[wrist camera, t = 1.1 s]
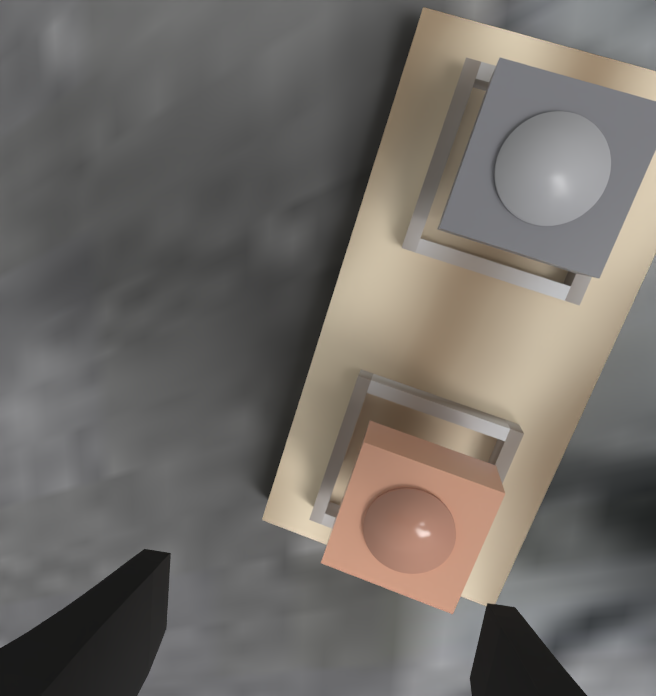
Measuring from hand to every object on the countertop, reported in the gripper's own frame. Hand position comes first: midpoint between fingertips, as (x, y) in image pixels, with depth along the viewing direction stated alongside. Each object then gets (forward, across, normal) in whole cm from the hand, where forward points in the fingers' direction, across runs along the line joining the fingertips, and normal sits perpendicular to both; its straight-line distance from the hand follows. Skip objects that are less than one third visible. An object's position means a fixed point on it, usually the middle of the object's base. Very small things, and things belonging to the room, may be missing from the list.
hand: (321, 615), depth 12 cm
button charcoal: (+7, -5, -10) cm, 13 cm away
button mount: (+11, -4, -5) cm, 12 cm away
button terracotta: (+7, -3, 0) cm, 7 cm away
